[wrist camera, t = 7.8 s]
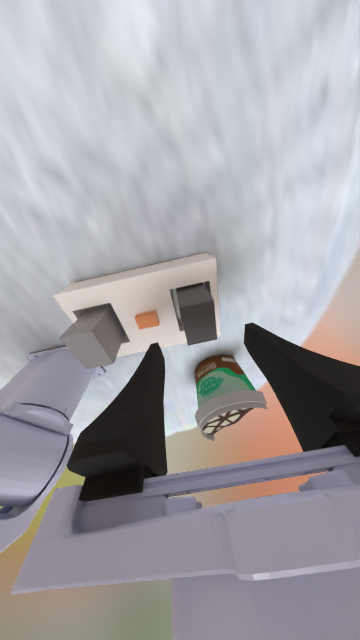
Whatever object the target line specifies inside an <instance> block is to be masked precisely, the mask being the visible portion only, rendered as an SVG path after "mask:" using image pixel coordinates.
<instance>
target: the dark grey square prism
mask: <svg viewBox="0 0 360 640" xmlns="http://www.w3.org/2000/svg"><path fill="white" fill-rule="evenodd" d="M176 293H177V299H178V306H179V311H180V315H181V319H182V323H183V327H184V331H185V335H186V339H187V343H188V345H193V344H197V343H202V342H207V341H212V340H216V339H217V329H216V318H215V306H214V299H213V298H212V296H211V295H210V293H209V292H208V290H207V289H206V287H205V286H204V284H203V283H197V284H193V285H188V286H184V287H179V288H176Z"/></svg>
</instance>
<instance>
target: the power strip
mask: <svg viewBox="0 0 360 640" xmlns="http://www.w3.org/2000/svg"><path fill="white" fill-rule="evenodd" d="M197 283H203V284H204V286H205V287H206V289H207V290H208V292H209V293H210V295H211V296H212V298H213V299H214V306H215V318H216V329H217V336H220V318H219V300H218V282H217V264H216V258H215V257H213V256H212V255H210V254H208V253H207V252H206V253H202V254H197V255H193V256H188V257H184V258H180V259H175V260H171V261H167V262H162V263H158V264H154V265H149V266H145V267H141V268H136V269H132V270H127V271H123V272H119V273H114V274H110V275H106V276H101V277H97V278H93V279H88V280H84V281H79V282H75V283H72V284H71V285H69V286H67V287H66V288H64V289H62V290H60V291H59V292H57V293H55V294H54V295H52V296H53V297H54V298H55V300H56V301H57V303H58V304H59V305H60V307H61V308H62V309H63V311H64V312H65V313H66V315H67V316H68V317H69V319H70V320H71V321H72V323H74V322H75V321H76V320H77V319H78V318H79V317H80V316H81V315H82V314H83V313H84V312H85V311H86V310H87V309H88V308H89V307H93V306H98V305H102V304H107V303H111V305H112V307H113V309H114V311H115V313H116V315H117V317H118V319H119V321H120V322H121V324H122V326H123V328H124V330H125V332H126V333H125V336H124V338H123V341H122V343H121V346H120V348H119V351H118V354H117V356H116V357H119V356H124V355H129V354H134V353H139V352H144V351H147V350H148V348H149V346H150V344H152V343H157V342H158V343H159V346H160V348H163V347H168V346H173V345H178V344H183V343H187V339H186V335H185V331H184V327H183V323H182V319H181V315H180V311H179V306H178V299H177V293H176V288H179V287H184V286H188V285H193V284H197Z"/></svg>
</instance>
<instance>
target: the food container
mask: <svg viewBox="0 0 360 640" xmlns="http://www.w3.org/2000/svg"><path fill="white" fill-rule="evenodd" d="M195 379H196V389H197V399H198V410H197V412H196V415H195V418H196V421H197V424H198V427H199V430H200V431H201V433H202V435H203V436H204V437H205V438H206V439H209V440H212V441H215V440H214V433H216V432H217V431H219V430H220V429H222V428H223V427H226V426H229V425H232V424H234V423H236V422H238V421H239V420H240V419H241V418H242V417H243V416H244V415H245V414H246V413H247V412H249V411H250V410H252V409H253V408H264V409H268V408H267V406H266V401H265V398H264V395H263V393H262V392H259V391H256V390H255V388H254V387H253V385H252V384H251V382H250V381H249V379H248V378H247V376H246V375H245V373H244V372H243V370H242V369H241V367H240V366H239V364H238V363H237V362H236V360H235V359H234V357H232V356H229V355H216V356H212V357H209V358H206V359H205V360H203V361H202V362H200V363H199V364H198V366H197V367H196V369H195Z"/></svg>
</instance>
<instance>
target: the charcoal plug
mask: <svg viewBox="0 0 360 640" xmlns="http://www.w3.org/2000/svg"><path fill="white" fill-rule="evenodd" d="M125 333H126V332H125V330H124V328H123V326H122V324H121V322H120V321H119V319H118V317H117V315H116V313H115V311H114V309H113V307H112V305H111V303H107V304H102V305H98V306H93V307H89V308H88V309H87V310H86V311H85V312H84V313H83V314H82V315H81V316H80V317H79V318H78V319H77V320H76V321H75V322H74V323H73V324H72V325H71V326H70V327H69V329H68V330H67V331H66V332H65V333H64V334H63V335H62V336H61V337H60V339H61V341H62V342H63V343H64V344H65V345H66V346H67V348H68V349H69V350H70V351H71V352H72V353H73V354H74V356H75V357H76V358H77V359H78V360H79V361H80V362H81V364H82V365H83V366H84V367H85V368H86V369H90V368H95V367H100V366H105V365H110V364H114V361H115V359H116V356H117V354H118V351H119V348H120V346H121V343H122V341H123V338H124V336H125Z"/></svg>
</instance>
